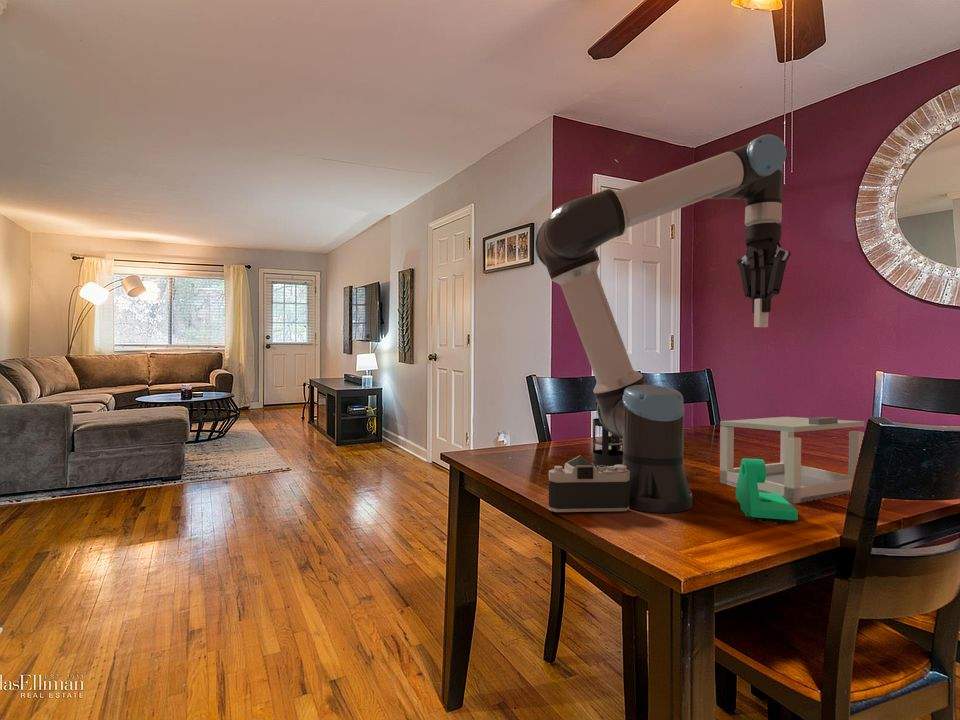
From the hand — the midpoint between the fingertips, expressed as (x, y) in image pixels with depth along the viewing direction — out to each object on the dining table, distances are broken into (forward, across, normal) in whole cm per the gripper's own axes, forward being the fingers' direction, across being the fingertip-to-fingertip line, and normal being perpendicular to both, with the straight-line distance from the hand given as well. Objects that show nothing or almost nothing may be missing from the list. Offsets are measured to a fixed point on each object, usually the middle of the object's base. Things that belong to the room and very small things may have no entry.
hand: (761, 326), depth 120 cm
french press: (+36, +27, +22) cm, 50 cm away
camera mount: (+37, -19, +19) cm, 45 cm away
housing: (+36, -6, -2) cm, 37 cm away
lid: (+23, +2, -1) cm, 23 cm away
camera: (+37, -3, +48) cm, 60 cm away
